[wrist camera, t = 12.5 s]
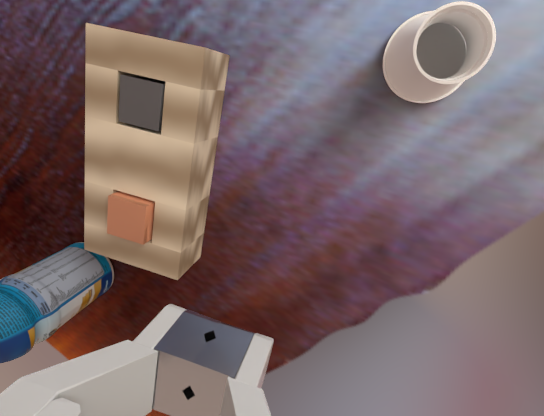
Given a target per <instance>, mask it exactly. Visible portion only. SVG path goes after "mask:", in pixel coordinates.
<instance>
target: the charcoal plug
mask: <svg viewBox="0 0 544 416" xmlns="http://www.w3.org/2000/svg"><path fill="white" fill-rule="evenodd" d="M164 93H165V81H161V80H157V79H153V78H148V77H142V76H131V75H121V74H120V98H119V121H120V122H124V123H128V124H131V125H135V126H139V127H143V128H147V129H151V130H155V131H161V128H162V116H163V105H164Z"/></svg>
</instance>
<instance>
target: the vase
mask: <svg viewBox="0 0 544 416" xmlns="http://www.w3.org/2000/svg"><path fill="white" fill-rule="evenodd" d="M472 12H473V13H472ZM495 41H496V29H495V25H494V22H493V20H492V18H491V16H490V15H489V13H488V12H487V11H486V10H485V9H484V8H482V7H481V6H479V5H477V4H474V3H471V2H464V1H460V2H453V3H449V4H446V5H444V6H442V7H440V8H438V9H436V10H435V11H428V12H424V13H420V14H418V15H415V16H413V17H412V18H410V19H408V20H407V21H405V22H404V23H403V24H402V25H401V26H400V27H399V28H398V29H397V30H396V31H395V32H394V34H393V35H392V36H391V38H390V40H389V42H388V44H387V46H386V48H385V51H384V55H383V74H384V78H385V80H386V82H387V84H388V86H389V88H390V89H391V90H392V91H393V92H394V93H395V94H396V95H397V96H399V97H400V98H402V99H404V100H407V101H410V102H415V103H428V102H434V101H437V100H440V99H442V98H444V97H446V96H448V95H449V94H451V93H452V92H454V91H455V90H456V89H457V88H458V87H459V86H460V85H461V84H462V83H463V82H464V80H467V79H469V78H470V77H472V76H473V75H475V74H476V73H477V72H479V71H480V70H481V69H482V68H483V67H484V65H485V64H486V63H487V61H488V60H489V58H490V56H491V54H492V52H493V50H494V46H495Z"/></svg>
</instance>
